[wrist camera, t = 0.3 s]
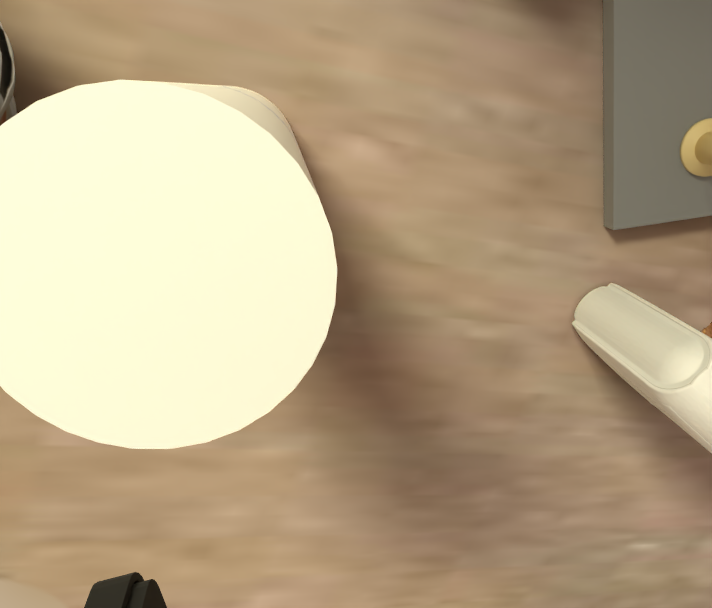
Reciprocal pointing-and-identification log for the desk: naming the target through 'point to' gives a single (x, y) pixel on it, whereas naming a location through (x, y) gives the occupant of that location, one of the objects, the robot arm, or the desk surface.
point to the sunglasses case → (708, 330)
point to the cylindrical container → (158, 261)
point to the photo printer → (652, 355)
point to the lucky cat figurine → (6, 79)
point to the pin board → (657, 111)
